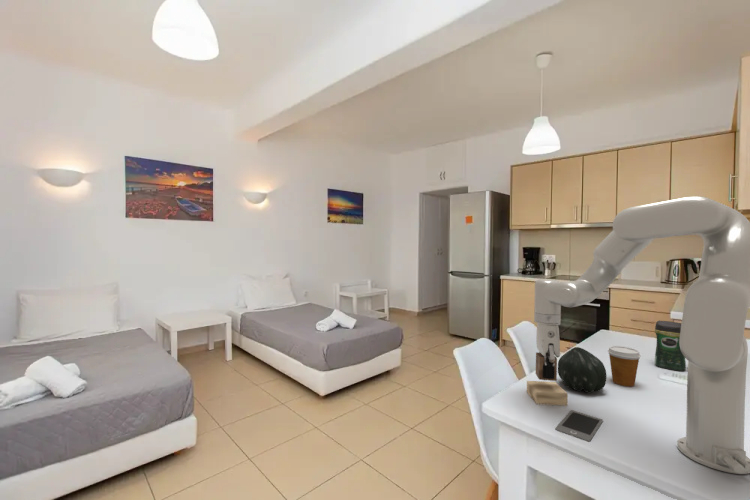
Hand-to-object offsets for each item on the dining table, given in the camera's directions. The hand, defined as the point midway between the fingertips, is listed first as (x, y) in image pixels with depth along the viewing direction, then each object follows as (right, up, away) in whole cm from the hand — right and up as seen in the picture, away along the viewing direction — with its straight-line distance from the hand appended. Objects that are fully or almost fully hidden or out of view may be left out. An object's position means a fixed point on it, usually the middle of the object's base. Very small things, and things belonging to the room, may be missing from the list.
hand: (546, 374), depth 110 cm
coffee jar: (+64, -8, +29) cm, 71 cm away
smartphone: (+1, -9, -16) cm, 18 cm away
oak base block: (0, -8, 0) cm, 8 cm away
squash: (+16, -8, +8) cm, 20 cm away
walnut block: (0, -1, 0) cm, 1 cm away
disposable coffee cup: (+34, -8, +13) cm, 37 cm away
